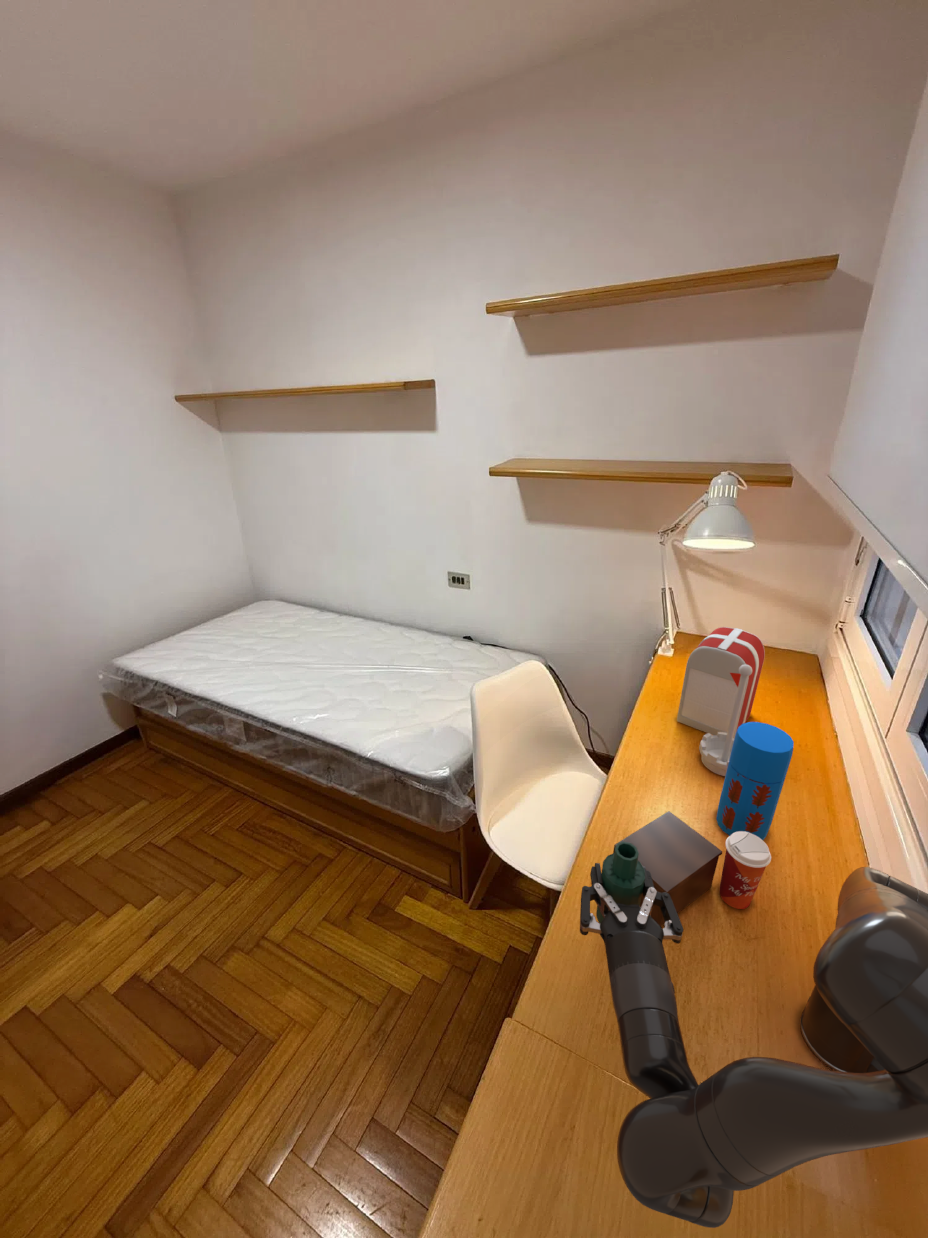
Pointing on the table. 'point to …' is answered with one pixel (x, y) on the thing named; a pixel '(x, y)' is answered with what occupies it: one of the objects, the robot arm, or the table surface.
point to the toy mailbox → (720, 680)
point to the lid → (671, 851)
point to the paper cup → (743, 868)
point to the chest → (686, 890)
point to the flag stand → (720, 745)
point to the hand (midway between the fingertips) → (619, 868)
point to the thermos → (754, 779)
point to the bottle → (623, 876)
